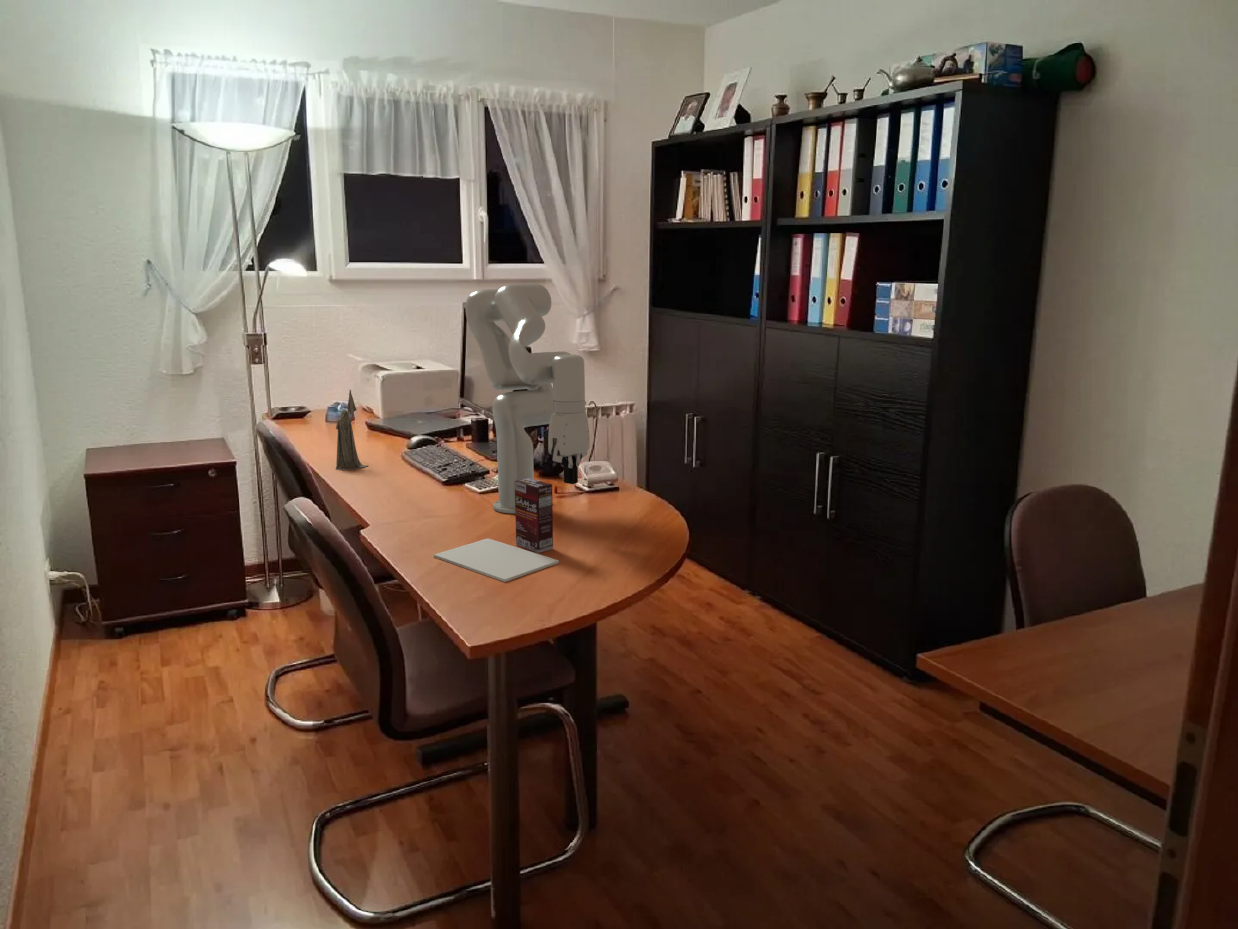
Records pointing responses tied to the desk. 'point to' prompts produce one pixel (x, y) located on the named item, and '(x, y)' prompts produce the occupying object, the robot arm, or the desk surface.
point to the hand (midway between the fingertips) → (570, 482)
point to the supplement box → (534, 515)
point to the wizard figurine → (347, 440)
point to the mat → (496, 559)
